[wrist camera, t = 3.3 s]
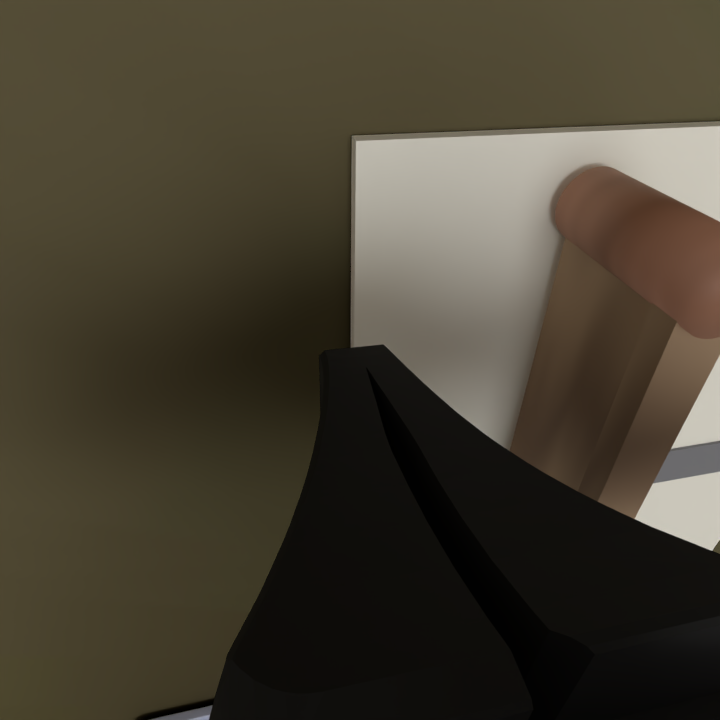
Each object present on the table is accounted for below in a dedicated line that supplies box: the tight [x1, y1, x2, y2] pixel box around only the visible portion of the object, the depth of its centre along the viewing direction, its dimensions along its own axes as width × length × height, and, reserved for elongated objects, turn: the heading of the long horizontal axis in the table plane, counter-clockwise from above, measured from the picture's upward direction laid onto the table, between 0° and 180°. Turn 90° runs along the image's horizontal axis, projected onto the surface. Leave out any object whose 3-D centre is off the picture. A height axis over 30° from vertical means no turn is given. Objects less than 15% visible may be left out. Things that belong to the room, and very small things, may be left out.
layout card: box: [351, 121, 720, 551], centre depth 18 cm, size 22×16×1 cm
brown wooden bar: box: [510, 166, 720, 519], centre depth 12 cm, size 9×2×4 cm, turn 0°
